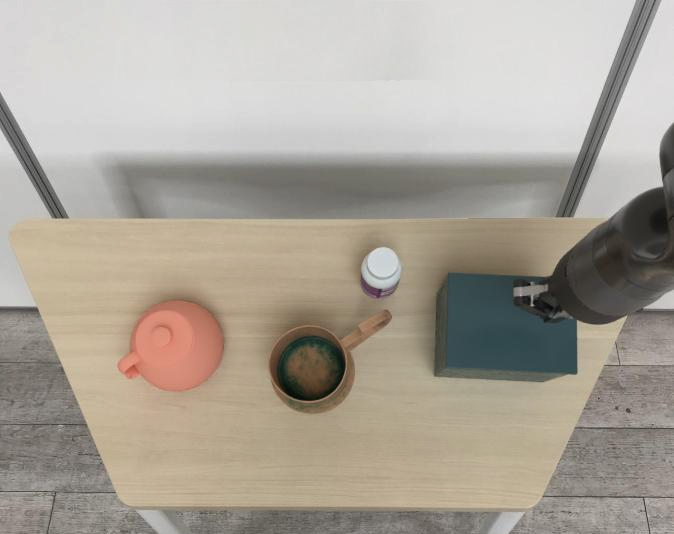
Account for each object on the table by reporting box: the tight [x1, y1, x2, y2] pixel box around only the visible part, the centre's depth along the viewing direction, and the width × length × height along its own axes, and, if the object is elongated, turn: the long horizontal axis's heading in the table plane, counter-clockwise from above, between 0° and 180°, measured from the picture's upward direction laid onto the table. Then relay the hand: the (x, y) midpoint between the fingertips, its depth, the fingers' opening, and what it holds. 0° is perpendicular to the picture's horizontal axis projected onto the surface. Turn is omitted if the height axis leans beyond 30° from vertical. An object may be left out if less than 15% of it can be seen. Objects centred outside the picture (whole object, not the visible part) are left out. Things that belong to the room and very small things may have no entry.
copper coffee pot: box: [267, 308, 393, 415], centre depth 79 cm, size 12×18×12 cm, turn 121°
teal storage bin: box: [433, 274, 568, 383], centre depth 80 cm, size 15×12×10 cm
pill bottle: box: [359, 246, 403, 301], centre depth 81 cm, size 5×5×10 cm
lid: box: [445, 271, 578, 376], centre depth 74 cm, size 16×12×1 cm
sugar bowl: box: [116, 300, 224, 393], centre depth 80 cm, size 12×14×10 cm
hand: (549, 314), depth 68 cm, fingers closed
